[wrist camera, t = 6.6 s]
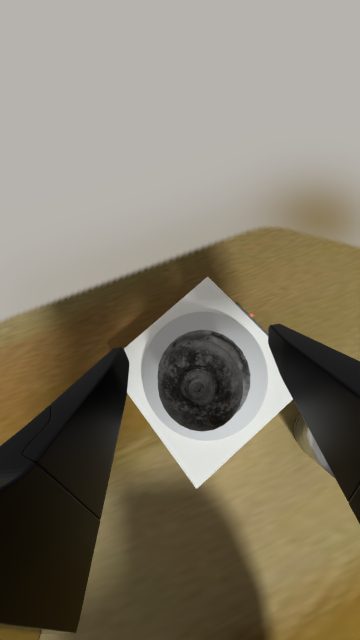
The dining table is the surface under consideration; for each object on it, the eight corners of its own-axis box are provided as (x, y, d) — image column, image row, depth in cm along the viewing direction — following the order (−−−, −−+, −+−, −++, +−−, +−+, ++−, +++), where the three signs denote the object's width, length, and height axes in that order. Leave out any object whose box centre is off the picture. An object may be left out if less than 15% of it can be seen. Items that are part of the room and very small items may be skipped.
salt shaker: (226, 327, 17) (267, 247, 6) (252, 400, 16) (382, 494, 4) (159, 349, 18) (65, 315, 6) (179, 422, 16) (107, 568, 4)
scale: (304, 374, 18) (322, 375, 16) (197, 473, 18) (196, 493, 15) (211, 282, 21) (212, 269, 18) (117, 364, 21) (102, 363, 18)
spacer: (356, 436, 17) (400, 457, 13) (321, 470, 17) (355, 501, 13) (317, 397, 18) (347, 405, 14) (283, 428, 18) (305, 446, 14)
